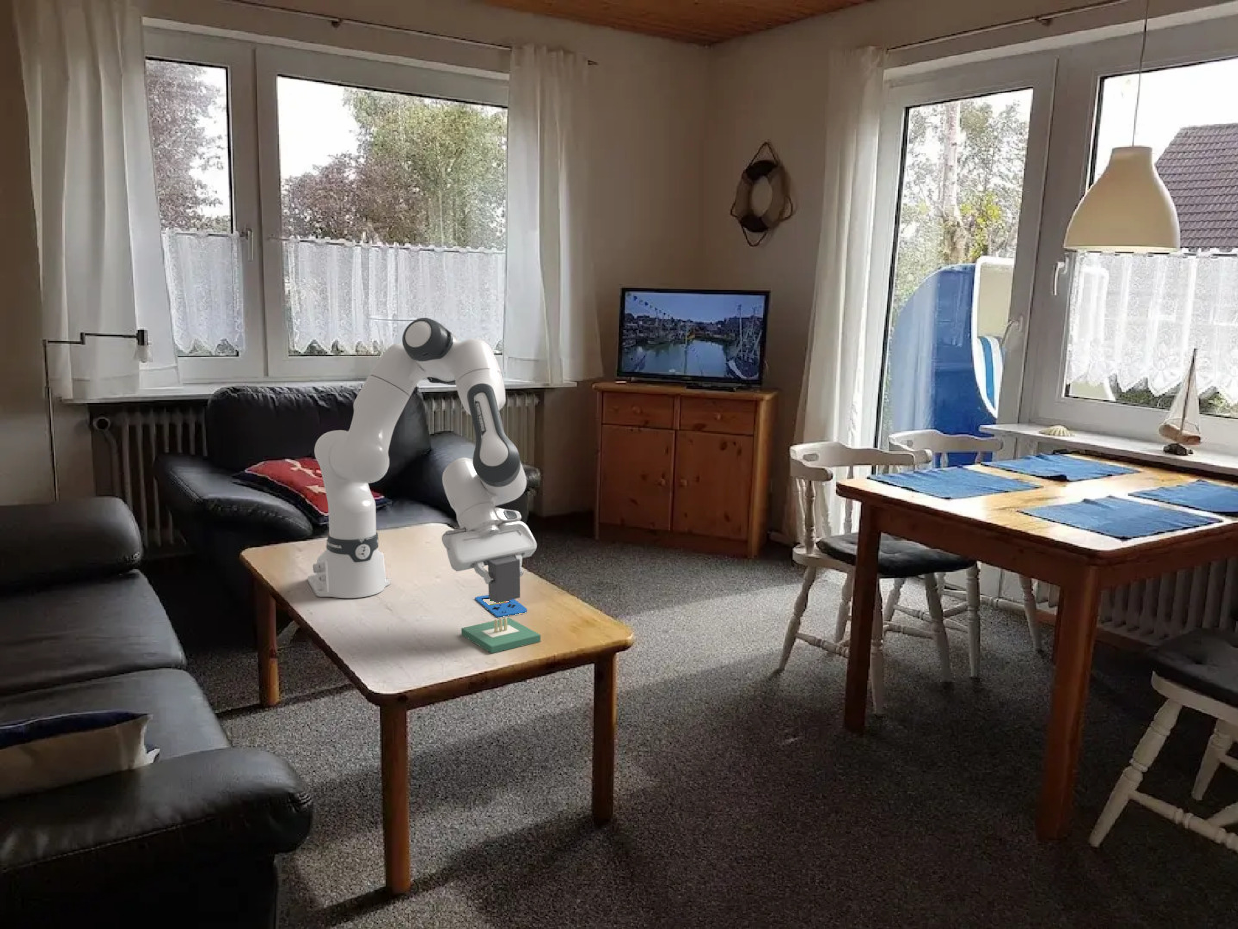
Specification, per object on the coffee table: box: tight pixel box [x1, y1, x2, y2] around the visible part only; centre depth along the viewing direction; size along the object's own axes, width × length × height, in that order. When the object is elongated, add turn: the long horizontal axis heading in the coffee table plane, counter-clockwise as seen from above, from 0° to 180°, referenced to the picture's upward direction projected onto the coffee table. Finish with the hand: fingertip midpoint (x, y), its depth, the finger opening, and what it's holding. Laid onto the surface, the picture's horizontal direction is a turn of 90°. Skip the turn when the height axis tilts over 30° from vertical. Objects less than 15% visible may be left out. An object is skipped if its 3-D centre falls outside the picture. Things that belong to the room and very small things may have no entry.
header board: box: [460, 617, 541, 654], centre depth 207 cm, size 13×12×4 cm
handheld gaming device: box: [474, 594, 528, 618], centre depth 228 cm, size 8×1×15 cm
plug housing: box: [487, 556, 521, 603], centre depth 205 cm, size 3×6×8 cm, turn 128°
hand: (505, 578), depth 205 cm, fingers closed on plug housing, 6 cm apart
